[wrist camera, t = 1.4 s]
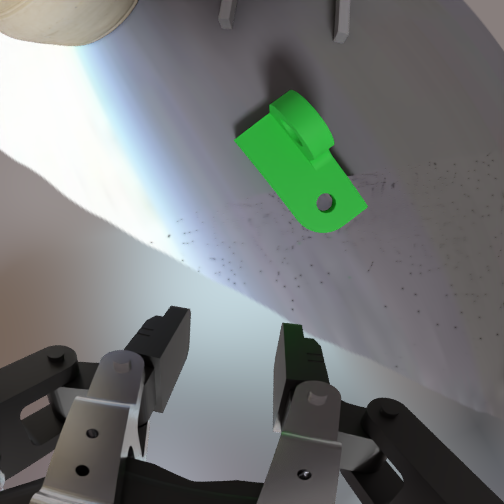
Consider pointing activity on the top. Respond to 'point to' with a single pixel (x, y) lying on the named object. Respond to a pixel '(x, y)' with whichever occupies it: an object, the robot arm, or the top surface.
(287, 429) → the robot arm
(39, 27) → the jug
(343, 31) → the low bench
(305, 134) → the mechanical part
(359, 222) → the top surface
